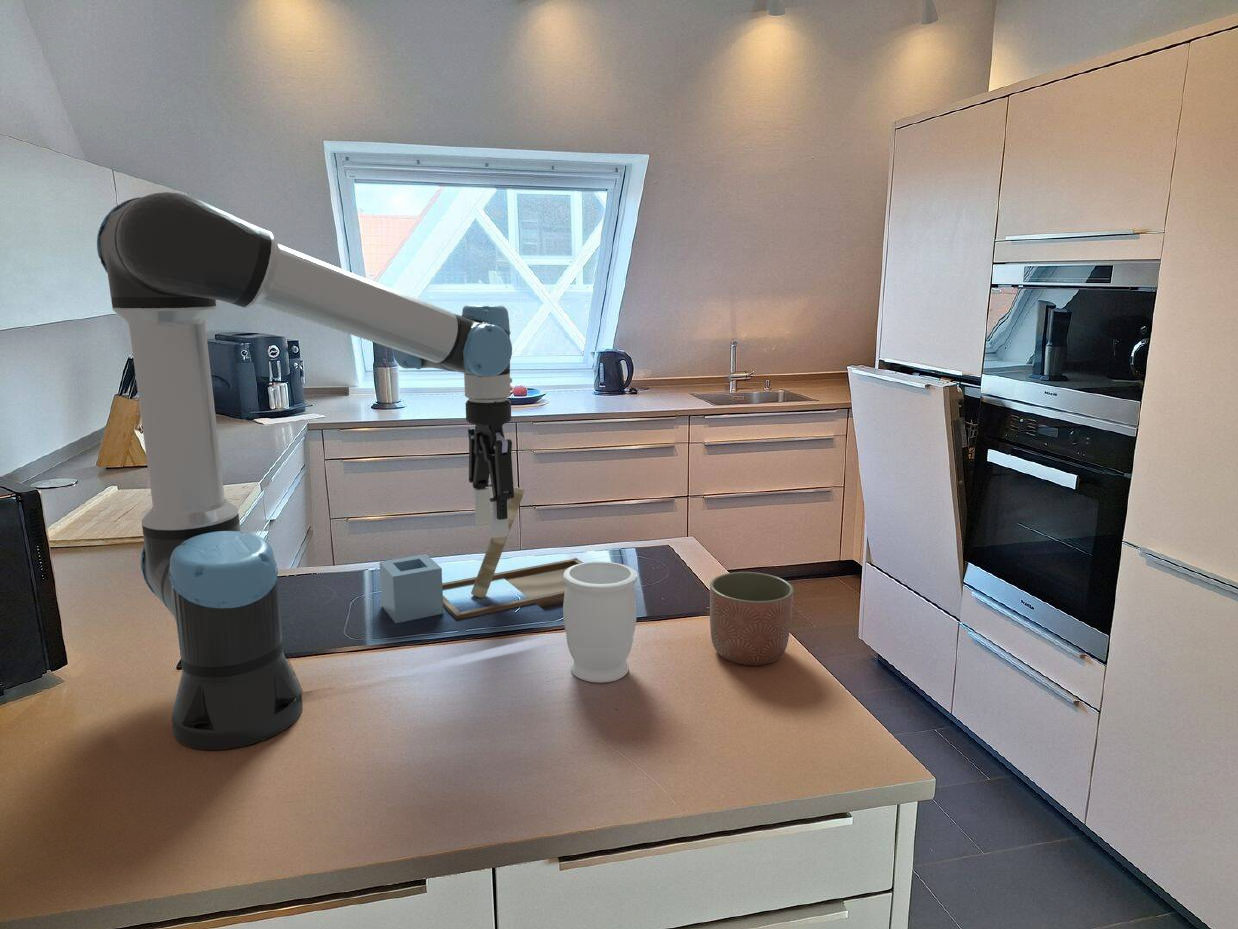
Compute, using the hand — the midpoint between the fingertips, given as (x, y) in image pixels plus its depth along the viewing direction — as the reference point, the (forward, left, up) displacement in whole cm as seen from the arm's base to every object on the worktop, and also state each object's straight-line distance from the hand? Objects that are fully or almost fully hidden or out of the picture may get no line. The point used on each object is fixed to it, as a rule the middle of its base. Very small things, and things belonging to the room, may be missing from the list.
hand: (491, 530), depth 142 cm
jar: (-32, -3, -13) cm, 35 cm away
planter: (-39, -26, -13) cm, 48 cm away
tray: (0, -6, -13) cm, 14 cm away
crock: (0, +14, -13) cm, 19 cm away
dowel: (0, +1, -12) cm, 12 cm away
